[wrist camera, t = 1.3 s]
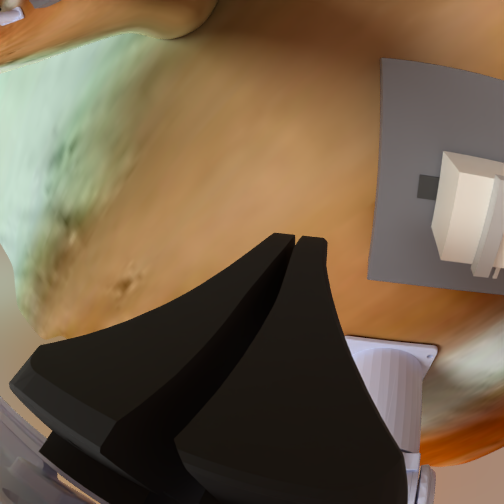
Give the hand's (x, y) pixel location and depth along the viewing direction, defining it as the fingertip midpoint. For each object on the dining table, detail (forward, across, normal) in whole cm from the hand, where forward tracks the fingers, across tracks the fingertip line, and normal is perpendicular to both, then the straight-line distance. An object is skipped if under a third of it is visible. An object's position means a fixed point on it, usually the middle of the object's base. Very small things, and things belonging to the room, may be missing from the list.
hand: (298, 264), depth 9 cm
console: (+9, -14, 0) cm, 16 cm away
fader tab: (+7, -7, 0) cm, 10 cm away
